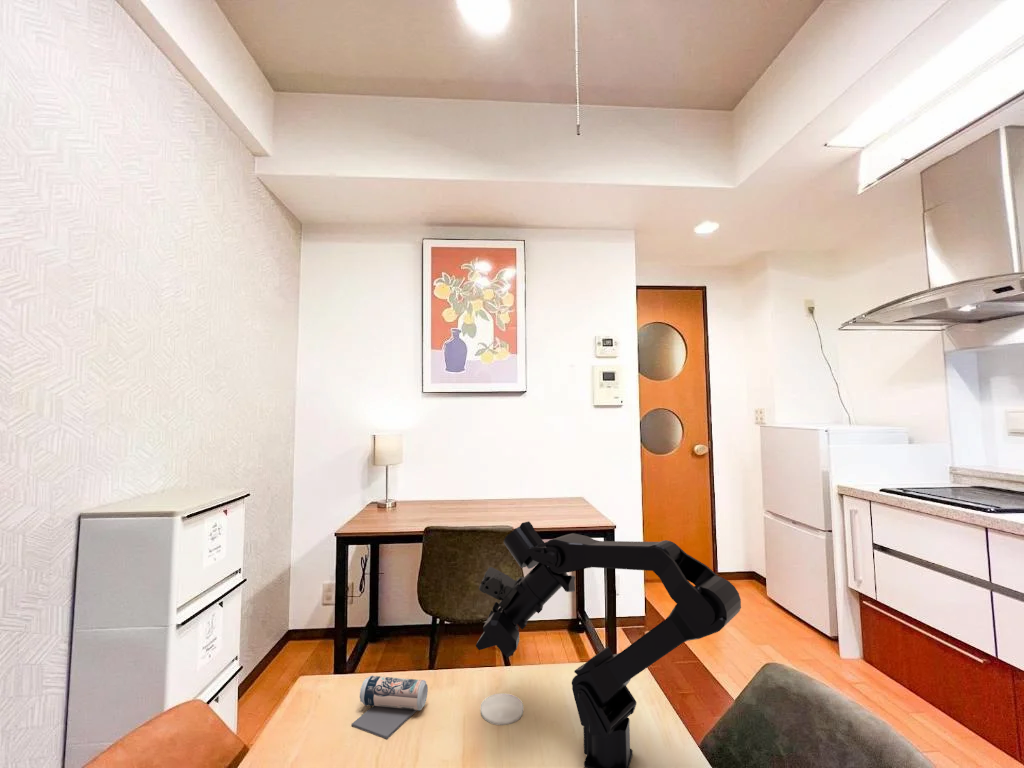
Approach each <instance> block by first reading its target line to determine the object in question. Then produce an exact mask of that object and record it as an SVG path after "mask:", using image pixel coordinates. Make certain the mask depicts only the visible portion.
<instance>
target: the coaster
mask: <svg viewBox="0 0 1024 768" xmlns="http://www.w3.org/2000/svg"><path fill="white" fill-rule="evenodd" d="M523 714H524V703H523V702H522V700H521V699H520V698H519V697H518V696H516V695H513V694H510V693H504V692H503V693H494V694H492V695H488V696H487V697H486V698H484V700H482V701H481V703H480V716H481V717H482V718H483V720H484V721H485V722H486V723H487V722H488V723H489V724H492V725H497V726H507V725H511V724H514V723H515V722H518V721H519V720H520V719H521V718H522V717H523Z"/></svg>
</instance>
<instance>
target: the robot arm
mask: <svg viewBox="0 0 1024 768" xmlns="http://www.w3.org/2000/svg"><path fill="white" fill-rule="evenodd" d="M503 544H504V546H505V547H506V549H507V550H508V551H509V553H510V554H511V556H512V557H513V559H514V560H515V561H516V563H517V564H518V566H519V567H520V568H521V569H523V568H527V569H531V570H530V571H529V572H528V573H527V574H526V575H525V576H523V575H522V576H520V577H518V578H517V580H515V579H513V578H512V577H511V576H509V575H508V574H505V573H504V572H502V571H500V570H499V569H496V568H494V567H492V566H489V567H488V569H487V570H486V571H485V573H484V576H483V577H482V579H481V582H480V584H479V587H478V590H479V591H480V592H481V593H483V594H486V595H489V596H490V597H492V598H494V599H497V600H498V601H499V602H497V601H495V602H494V604H493V606H492V610H490V612H489V614H488V616H487V619H486V621H485V622H484V625H483V627H482V630H483V633H482V634H481V636H480V637H479V639H478V641H477V642H476V644H475V647H476V648H477V650H479V651H481V650H485V649H489V648H491V647H497V649H499V650H500V651H501V653H502V654H503V656H505V657H506V658H510V657H511V656H512V655H513V654H514V652H516V651H517V649H518V647H519V646H518V645H519V642H520V631H519V628H520V629H521V630H524V629H525V627H526V626H527V624H528V621H529V620H530V619H531V618H532V617H533V616H534V615H535V614H536V613H537V614H539V613H541V611H542V610H543V607H544V605H545V604H546V603H547V602H549V600H550V599H551V598H552V597H553V596H554V595H555V594H556V593H557V592H558V591H559V590H560V589H561V588H563V590H564V591H565V592H566V593H574V592H575V591H576V584H575V581H576V576H575V575H569V574H568V573H571V572H572V573H573V572H576V571H577V572H578V571H581V570H585V569H591V568H597V569H614V570H615V569H616V570H629V571H630V570H632V571H633V570H634V571H646V572H653V573H654V574H655V575H656V576H657V577H658V578H659V579H660V581H661V583H662V584H663V587H664V589H665V590H666V592H667V593H668V595H669V597H670V598H671V600H672V601H674V602H675V606H674V607H672V611H670V614H669V615H668V616H667V617H666V618H665V619H664V620H662V621H661V622H659V623H658V624H657V625H655V626H654V627H653V628H652V629H649V631H647V632H646V633H644V635H642V636H641V637H639V638H638V639H637V640H635V641H634V642H633V643H631V644H630V645H629V646H627V647H626V648H624V650H622V651H621V652H619V653H614V654H613V652H612V651H611V650H612V649H611V648H610V646H607V647H605V648H604V649H603V650H601V651H600V652H598V653H597V654H595V655H594V656H592V657H591V658H590V659H589V660H588V661H586V662H585V663H584V664H582V665H580V666H579V667H577V668H576V669H575V670H574V673H575V674H576V675H575V676H573V678H572V680H571V685H572V686H571V687H572V688H571V689H572V693H573V699H574V702H575V705H576V709H577V713H578V717H579V721H580V724H581V726H582V727H583V754H584V755H585V758H584V761H583V765H584V768H630V766H631V765H630V764H631V761H632V758H633V752H634V751H633V749H632V748H631V741H630V740H631V735H630V734H631V733H630V732H631V731H630V718H629V717H630V716H631V715H632V714H634V712H635V710H636V706H637V700H636V699H635V697H634V695H633V694H632V693H631V691H630V690H629V688H628V686H627V685H628V684H629V683H630V681H631V679H633V678H635V677H636V676H637V675H638V674H640V673H641V672H644V670H646V669H648V668H649V667H650V666H651V665H653V664H655V663H656V662H657V661H659V660H660V659H662V658H663V657H664V656H666V655H668V654H669V653H671V652H672V651H673V650H676V648H678V647H679V646H681V645H682V644H683V643H686V642H689V641H694V640H701V639H703V638H706V637H707V636H710V635H713V634H716V633H718V632H720V631H721V630H722V629H723V628H725V626H727V624H729V623H730V621H731V620H733V619H734V618H735V617H736V616H737V615H738V614H739V613H740V611H741V608H742V604H741V603H742V602H741V601H742V599H741V596H740V593H739V591H738V590H737V588H736V587H735V585H733V583H732V582H731V581H729V580H727V579H726V578H724V577H721V576H719V575H718V574H717V573H715V572H714V571H713V570H712V569H711V568H710V567H709V566H708V565H706V564H705V563H703V562H701V561H699V560H698V559H696V558H694V557H693V556H692V555H690V554H688V553H686V552H685V551H684V550H683V549H682V547H680V546H679V545H677V544H676V543H675V542H673V541H671V540H666V539H665V540H661V541H630V540H629V541H619V540H617V541H614V540H611V541H610V540H597V539H594V538H592V537H590V536H587V535H582V534H580V533H567V534H565V535H561V536H558V537H556V538H551V539H549V540H548V541H545V542H544V540H543V539H542V538H541V536H540V535H539V534H538V532H537V531H536V530H535V527H534V526H533V524H532V523H531V522H530V521H525V522H522V523H520V525H519V526H518V527H517V528H514V529H513V530H512V531H511V532H509V534H507V535H506V536H505V538H504V539H503Z"/></svg>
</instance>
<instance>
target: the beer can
mask: <svg viewBox="0 0 1024 768" xmlns="http://www.w3.org/2000/svg"><path fill="white" fill-rule="evenodd" d="M428 688H429V687H428V684H427V681H426V680H425V679H413V678H404V677H403V678H402V677H401V678H400V677H391V676H380V675H379V676H378V675H370V676H368V677H366V678H365V679H364V680H363V681H362V684H361V687H360V689H359V700H360V703H362V704H363V705H364V706H365V707H366V706H369V707H370V706H371V707H373V706H380V707H391V708H401V709H412V710H417V711H421V710H422V709H423V708H424V707H425V705H426V702H427V700H428V690H429V689H428Z"/></svg>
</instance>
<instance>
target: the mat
mask: <svg viewBox="0 0 1024 768" xmlns="http://www.w3.org/2000/svg"><path fill="white" fill-rule="evenodd" d="M417 711H418V710H412V709H401V708H391V707H380V706H371V707H370V708H369V709H368V710H367V711H365V712H364V713H363V714H362V715H361V716H359V717H358V718H357V719H356V720H355V721H353V722H351V727H353V728H356V729H358V730H361V731H364V732H366V733H368V734H369V733H370V734H372V735H373V736H374V735H375V736H378V737H379V738H383V739H385V740H388V739H389V738H390V737H391V736H392V735H393V734H395V733H396V732H397V730H398V729H399V728H401V726H403V725H404V724H405V723H406V722H407V721H408V720H409V719H410V718H411V717H413V715H414V714H415V713H416V712H417Z"/></svg>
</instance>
